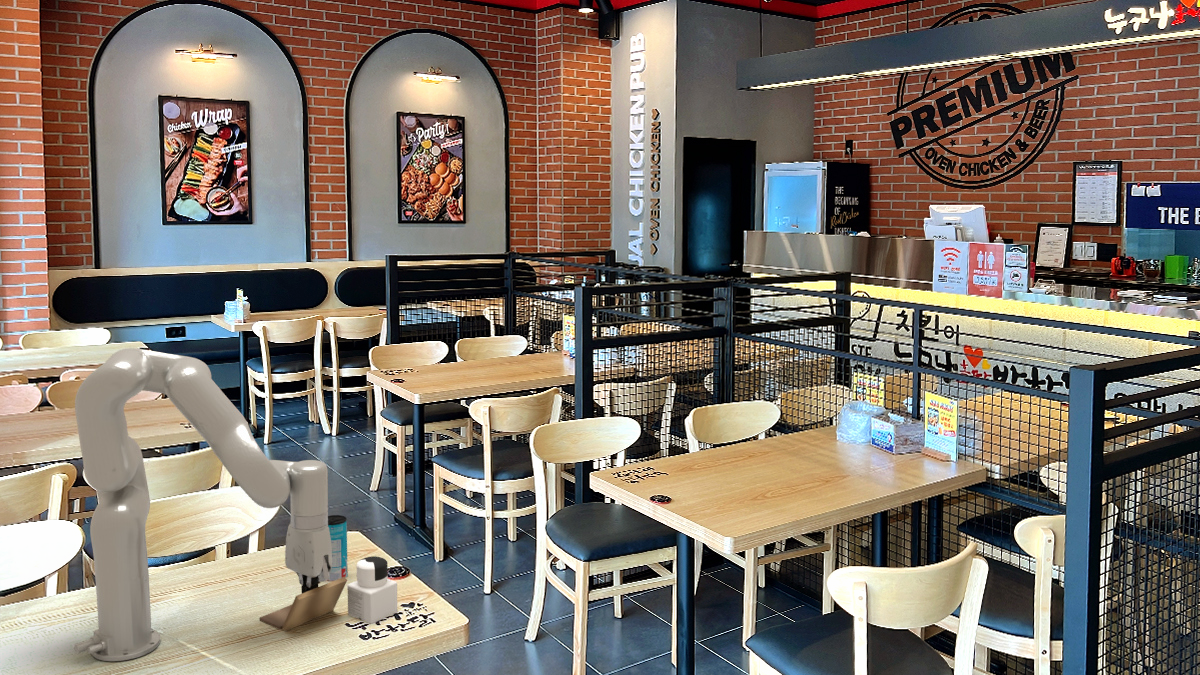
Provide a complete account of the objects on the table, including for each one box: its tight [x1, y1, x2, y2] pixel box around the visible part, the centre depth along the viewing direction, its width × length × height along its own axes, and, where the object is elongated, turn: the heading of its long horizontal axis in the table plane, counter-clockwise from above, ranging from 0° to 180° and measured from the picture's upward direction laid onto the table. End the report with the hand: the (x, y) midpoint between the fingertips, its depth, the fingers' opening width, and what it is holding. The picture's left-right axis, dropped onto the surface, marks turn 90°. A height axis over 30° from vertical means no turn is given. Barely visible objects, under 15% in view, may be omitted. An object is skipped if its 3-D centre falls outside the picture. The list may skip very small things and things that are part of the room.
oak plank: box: [282, 577, 348, 632], centre depth 205 cm, size 13×10×1 cm
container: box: [347, 556, 398, 625], centre depth 210 cm, size 8×8×13 cm
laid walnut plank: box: [258, 604, 292, 630], centre depth 206 cm, size 13×18×1 cm
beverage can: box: [326, 514, 349, 582], centre depth 229 cm, size 6×6×15 cm
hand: (310, 601), depth 206 cm, fingers closed
